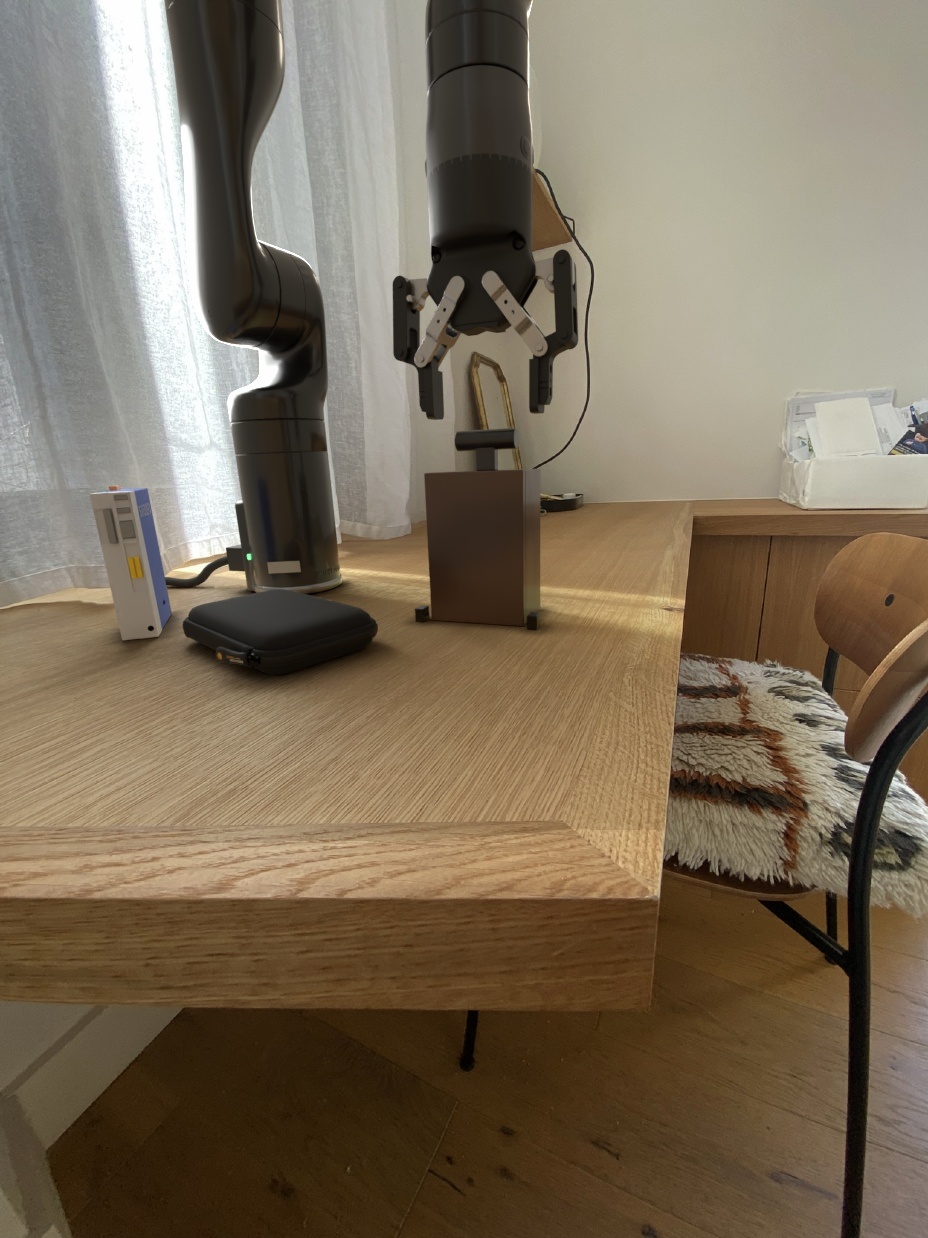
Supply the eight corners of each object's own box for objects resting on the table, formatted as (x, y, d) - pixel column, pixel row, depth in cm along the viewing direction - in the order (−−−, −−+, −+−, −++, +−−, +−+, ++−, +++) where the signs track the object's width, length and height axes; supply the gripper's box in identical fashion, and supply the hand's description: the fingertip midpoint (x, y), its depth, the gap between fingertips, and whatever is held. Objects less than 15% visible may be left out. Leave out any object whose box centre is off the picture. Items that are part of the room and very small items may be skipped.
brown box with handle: (522, 423, 40) (540, 427, 45) (421, 429, 43) (449, 433, 48) (523, 626, 44) (540, 608, 49) (431, 620, 47) (456, 604, 52)
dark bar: (415, 622, 47) (414, 608, 46) (421, 618, 48) (420, 605, 47) (536, 631, 43) (536, 616, 43) (540, 626, 44) (540, 612, 44)
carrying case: (163, 646, 43) (253, 694, 33) (155, 608, 42) (245, 646, 32) (287, 615, 50) (391, 647, 41) (283, 582, 50) (388, 607, 40)
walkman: (139, 617, 52) (111, 485, 49) (172, 613, 53) (146, 483, 49) (120, 641, 45) (85, 489, 41) (158, 637, 46) (128, 487, 42)
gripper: (588, 178, 41) (581, 414, 45) (412, 213, 46) (422, 422, 50) (569, 124, 34) (564, 408, 39) (365, 172, 39) (382, 419, 43)
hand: (484, 416), depth 44 cm, fingers open, 8 cm apart
